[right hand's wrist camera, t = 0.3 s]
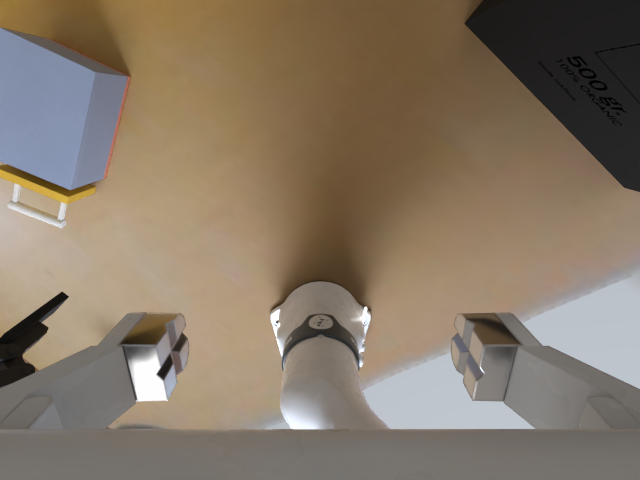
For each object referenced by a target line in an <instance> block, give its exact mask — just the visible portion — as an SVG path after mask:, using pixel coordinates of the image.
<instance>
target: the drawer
mask: <svg viewBox="0 0 640 480" xmlns="http://www.w3.org/2000/svg"><path fill="white" fill-rule="evenodd" d="M0 177H1V178H3V179H6V180H8V181H11V182H13V183H15V184H14V191H13V198H12V200H11V201H10V202H9V203H8V207H9V208H11V209H13V210H16V211H18V212H21V213H23V214H26V215H29V216H31V217H34V218H36V219H39V220H41V221H44V222H46V223H49V224H51V225H54V226H57V227H59V228H63V227H64V226H65V225H66V221H65V220H64V217H65V212H66V208H67V204H69V203H71V202H74V201H76V200H79V199H81V198H84V197H86V196H89V195H91V194H94V193H95V191H96V186H94V185H91V184H87V185H84V186H81V187H78V188H75V189H72V190H69V189H67V188H64V187H62V186H59V185H57V184H54V183H52V182H49V181H47V180H45V179H42V178H40V177H37V176H35V175H32V174H30V173H27V172H25V171H23V170H20V169H18V168H15V167H13V166H10V165H8V164H7V165H1V166H0ZM21 186H23V187H25V188H28V189H30V190H33V191H35V192H38V193H40V194H43V195H45V196H48V197H50V198H53V199H55V200H58V201H60V202H61V205H60V210H59V215H58V217H56V216H53V215H50V214H48V213H45V212H43V211H40V210H38V209H35V208H33V207H30V206H28V205H25V204H23V203H20V202H19V197H20V191H21Z"/></svg>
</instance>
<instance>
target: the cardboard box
mask: <svg viewBox="0 0 640 480" xmlns="http://www.w3.org/2000/svg"><path fill="white" fill-rule="evenodd" d="M465 24H466V25H467V26H468V28H469V29H470V30H471V31H472V32H473V33H474V34H475V35H476V36H477V37H478V38H479V39H480V40H481V41H482V42H483V43H484V44H485V45H486V46H487V47H488V48H489V49H490V50H491V51H492V52H493V53H494V54H495V55H496V56H497V57H498V58H499V59H500V60H501V61H502V62H503V63H504V64H505V65H506V67H507V68H508V69H509V70H510V71H511V72H512V73H513V74H514V75H515V76H516V77H517V78H518V79H519V80H520V81H521V82H522V83H523V84H524V85H525V86H526V87H527V88H528V89H529V90H530V91H531V92H532V93H533V94H534V95H535V96H536V97H537V98H538V99H539V100H540V101H541V102H542V103H543V104H544V105H545V107H546V108H547V109H548V110H549V111H550V112H551V113H552V114H553V115H554V116H555V117H556V118H557V119H558V120H559V121H560V122H561V123H562V124H563V125H564V126H565V127H566V128H567V129H568V130H569V131H570V132H571V133H572V134H573V135H574V136H575V137H576V138H577V139H578V140H579V141H580V142H581V143H582V144H583V146H584V147H585V148H586V149H587V150H588V151H589V152H590V153H591V154H592V155H593V156H594V157H595V158H596V159H597V160H598V161H599V162H600V163H601V164H602V165H603V166H604V167H605V168H606V169H607V170H608V171H609V172H610V173H611V174H612V175H613V176H614V177H615V178H616V179H617V180H618V181H619V182H620V183H621V185H622V186H623V187H624V188H628V189H631V190H635V191H639V192H640V0H483V1H482V3H481V4H480V5H479V6H478V8H477V9H476V10H475V11H474V13H473V14H472V15H471V16H470V17H469V19H468V20H467V21H466V22H465ZM634 44H636V45H635V46H630V47H626V46H629V45H634ZM618 47H622V48H619V49H615V48H618ZM608 49H609V51H607V50H608ZM604 50H605V51H604ZM599 51H600V52H599ZM581 60H584V63H583V61H581ZM578 63H579V65H581V66H578ZM585 64H586V65H585ZM581 68H582V69H581ZM584 68H588V69H589V70H588V71H587V69H585V70H583V69H584ZM591 70H592V72H591ZM578 71H579V72H578ZM593 73H595V74H596V77H595V75H594V74H593ZM572 74H573V75H572ZM574 75H575V76H574ZM590 76H591V78H594V77H595V78H594V79H590ZM575 77H576V78H575ZM593 80H598V81H600V82H598V81H597V82H598V83H597V82H596V81H593ZM595 82H596V83H595ZM601 82H603V83H601ZM585 86H586V87H587V88H589V89H587V88H586V87H585ZM605 86H606V88H608V89H606V88H605ZM602 88H604V89H606V90H603V89H602ZM601 89H602V90H603V91H601ZM588 90H590V91H589V92H588ZM592 94H594V95H595V97H592V96H594V95H592ZM608 97H611V98H608ZM594 98H596V99H597V100H596V99H594ZM599 98H600V99H601V102H599V101H600V99H599ZM612 99H613V100H612ZM602 101H603V103H602ZM600 103H601V104H600ZM604 103H605V104H604Z"/></svg>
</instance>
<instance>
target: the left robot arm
mask: <svg viewBox="0 0 640 480" xmlns="http://www.w3.org/2000/svg"><path fill="white" fill-rule="evenodd" d="M68 297H69V296H67V295H66V294H65V293H63V292H61V293H60V294H58V295H57V296H55V297H54V298H53V299H51V300H50V301H49V302H47V303H46V304H44V305H43V306H42V307H40V308H39V309H38V310H36V311H35V312H33V313H32V314H31V315H29V316H28V317H27V318H25V319H24V320H22V321H21V322H20V323H18V324H17V325H16V326H14V327H13V328H11V329H10V330H9V331H7V332H6V333H5V334H4V335H3V336H2V337H1V338H0V389H2V388H4V387H6V386H8V385H10V384H12V383H14V382H16V381H18V380H21V379H23V378H25V377H27V376H29V375H31V374H33V373H35V367H34V366H33V365H31V364H29V363H25V362H24V360H23V357H22V356H23V354H24V353H25V352H26V351H27V350H29V349H30V348H31V347H32V346H33V345H34V344H36V343H37V342H38V341H39V340H40V339H41V338H42V337H43V336H44V335H45V334H46V333H47V330H48V327H47V326H45V325H44V324H42V323H41V322H43V321H44V320H45V319H46V318H48V317H49V316H50V315H52V314H53V313H54V312H55V311H56V310H57V309H58V308H59V307H60V306H61V305H62V304H63V302H64V301H65V300H66V299H67V298H68Z"/></svg>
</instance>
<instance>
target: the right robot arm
mask: <svg viewBox="0 0 640 480" xmlns="http://www.w3.org/2000/svg"><path fill="white" fill-rule="evenodd" d="M270 319H271V322H272V326H273V329H274V332H275V336H276V339H277V343H278V346H279V350H280V353H281V357H282V370H283V378H282V386H281V393H280V407H281V411H282V414H283V416H284V418H285V420H286V421H287V423H288V424H289V426H290V427H291V428H292V429H105V428H106V427H107V426H108V425H110V424H111V423H112V422H113V421H115V420H116V419H117V418H118V417H120V416H121V415H122V414H123V413H124V412H126V411H127V410H128V409H129V408H131V407H132V406H133V405H134V404H136V401H168V399H169V397H170V395H171V393H172V391H173V389H174V387H175V385H176V383H177V379H176V375H178V374H179V373H181V372H182V371H183V370H184V368H185V366H186V364H187V360H188V355H189V342H188V338H187V337H186V336H185V335H184V334H183V333H182V331H183V330H184V328H185V326H186V324H185V319H184V316H183V315H182V314H181V313H146V312H136V313H128V314H126V316H125V317H124V318H123V319H122V320H121V321H120V322H119V323H118V324H117V325H116V326H115V327H114V328H113V329H112V331H111V332H110V333H109V334H108V335H107V336H106V337H105V338H104V339H103V340H102V341H101V342H100V343H99V344H98V345H97V346H90V347H88V348H86V349H84V350H82V351H80V352H78V353H76V354H73V355H71V356H69V357H67V358H65V359H63V360H61V361H59V362H57V363H54V364H52V365H50V366H48V367H46V368H44V369H42V370H40V371H37V372H35V373H33V374H31V375H29V376H27V377H25V378H23V379H21V380H18V381H16V382H14V383H12V384H10V385H8V386H6V387H4V388H2V389H0V480H640V389H638V388H636V387H634V386H632V385H630V384H628V383H626V382H623V381H621V380H619V379H617V378H615V377H613V376H611V375H609V374H607V373H604V372H602V371H600V370H598V369H596V368H594V367H592V366H590V365H588V364H586V363H583V362H581V361H579V360H577V359H575V358H573V357H571V356H569V355H567V354H564V353H562V352H560V351H558V350H556V349H554V348H552V347H550V346H543V345H542V344H541V343H540V342H539V341H538V340H537V339H536V338H535V337H534V336H533V335H532V334H531V333H530V332H529V330H528V329H527V328H526V327H525V326H524V325H523V324H522V323H521V322H520V321H519V320H518V319H517V318H516V317H515V315H514V314H512V313H509V312H501V313H470V314H457V316H456V318H455V324H454V326H455V328H456V330H457V331H458V333H457V334H456V335H455V336H454V337H453V338H452V343H451V355H452V360H453V363H454V366H455V368H456V370H457V371H458V372H459V373H461V374H462V375H464V379H463V383H464V385H465V387H466V389H467V391H468V393H469V395H470V397H471V399H472V400H473V401H504V403H505V404H506V405H507V406H508V407H510V408H511V409H512V410H513V411H514V412H516V413H517V414H518V415H519V416H521V417H522V418H523V419H524V420H526V421H527V422H528V423H529V424H530V425H532V426H533V427H534V428H535V429H391V428H390V427H388V426H387V425H386V424H385V423H384V422H383V421H382V420H381V419H380V418H379V417H378V416H377V415H376V414H375V412H374V411H373V410H372V409H371V407H370V406H369V404H368V403H367V401H366V399H365V397H364V394H363V390H362V386H361V382H360V378H359V373H358V372H359V367H362V365H363V355H362V354H360V353H361V352H362V351H363V352H364V350H365V344H363V343H364V340H365V336H366V333H367V329H368V326H369V323H370V319H371V313H370V311H369V310H368V309H367V307H363V306H361V305H359V304H358V303H357V301H356V300H355V299H354V297H353V296H352V295H351V294H350V293H349V292H348V291H347V290H346V289H344V288H343V287H341V286H339V285H337V284H334V283H330V282H324V281H318V282H311V283H307V284H304V285H302V286H300V287H298V288H297V289H295V290H294V291H293V292H292V293H291V294H290V295H289V296H288V297H287V299H286V300H285V302H284V303H283V304H281V305H280V306H278V307H276V308H275V309H273V310H272V311H271V313H270ZM276 320H278V322H277V321H276ZM364 320H365V321H364Z"/></svg>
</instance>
